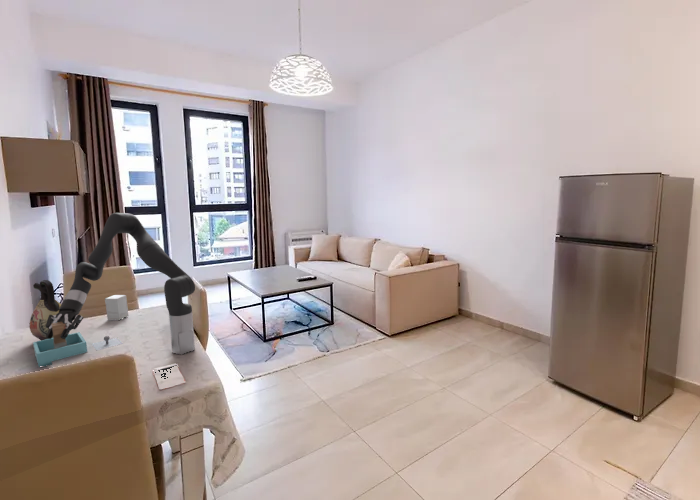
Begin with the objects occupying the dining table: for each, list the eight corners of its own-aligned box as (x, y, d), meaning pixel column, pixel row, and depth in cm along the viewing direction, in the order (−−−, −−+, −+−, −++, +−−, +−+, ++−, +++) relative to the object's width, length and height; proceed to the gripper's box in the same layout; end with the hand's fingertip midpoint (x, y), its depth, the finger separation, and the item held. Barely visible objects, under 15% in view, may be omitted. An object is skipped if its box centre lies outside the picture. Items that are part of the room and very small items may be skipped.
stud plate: (123, 346, 160) (122, 336, 160) (96, 353, 153) (95, 342, 153) (117, 340, 167) (116, 330, 166) (92, 346, 160) (90, 336, 159)
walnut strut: (67, 350, 152) (64, 323, 150) (55, 353, 149) (52, 326, 147) (66, 347, 154) (62, 321, 152) (54, 350, 152) (50, 323, 150)
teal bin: (87, 355, 152) (86, 342, 151) (38, 368, 141) (36, 353, 140) (81, 344, 163) (79, 331, 162) (35, 355, 152) (33, 342, 151)
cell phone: (159, 391, 124) (158, 389, 124) (152, 371, 139) (152, 369, 139) (186, 384, 130) (186, 381, 129) (177, 365, 144) (176, 362, 144)
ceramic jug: (25, 342, 165) (16, 280, 160) (64, 331, 178) (56, 273, 174) (43, 349, 157) (33, 284, 152) (82, 337, 171) (74, 277, 166)
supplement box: (129, 316, 200) (126, 294, 198) (119, 320, 193) (117, 298, 191) (117, 315, 201) (114, 294, 199) (106, 320, 194) (104, 298, 192)
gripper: (51, 298, 155) (31, 334, 146) (84, 298, 156) (66, 334, 146) (63, 306, 162) (44, 341, 152) (94, 306, 162) (78, 341, 152)
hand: (55, 338), depth 149 cm, fingers open, 5 cm apart
